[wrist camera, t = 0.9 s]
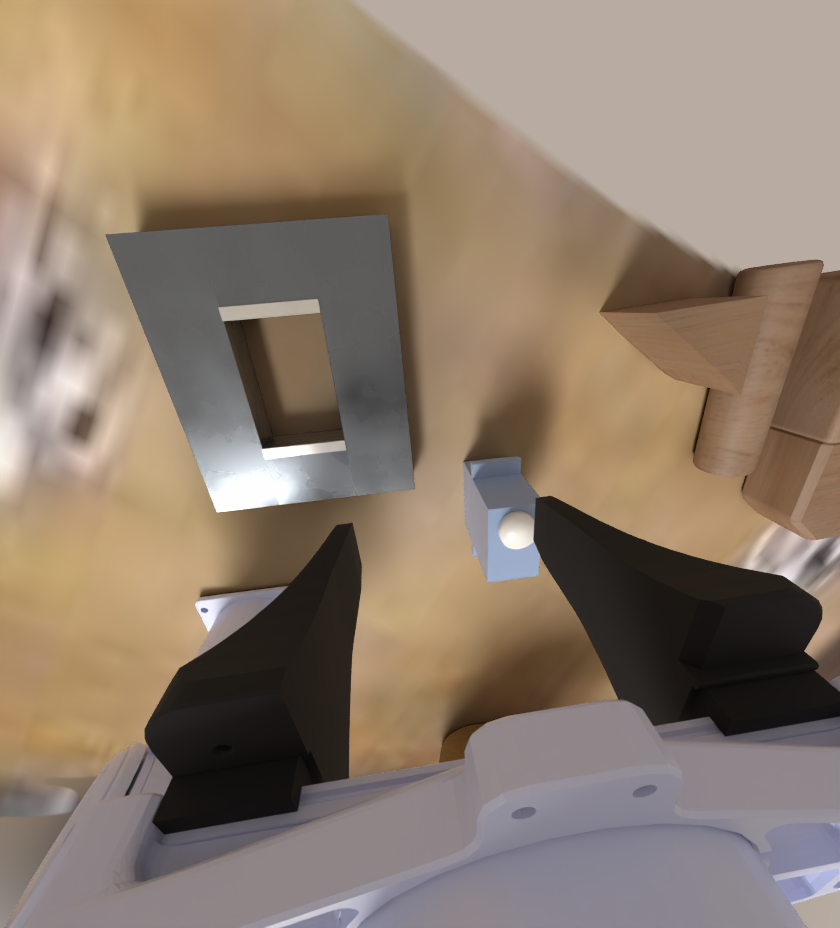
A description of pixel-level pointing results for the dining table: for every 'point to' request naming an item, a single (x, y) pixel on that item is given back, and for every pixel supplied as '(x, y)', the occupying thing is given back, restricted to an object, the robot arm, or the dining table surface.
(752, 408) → the wooden block set
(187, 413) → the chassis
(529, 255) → the dining table surface
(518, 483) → the block
